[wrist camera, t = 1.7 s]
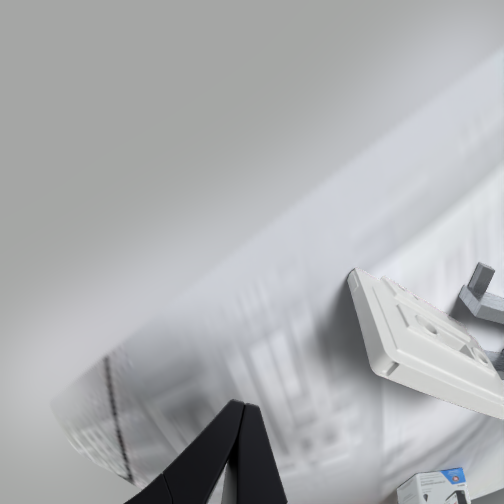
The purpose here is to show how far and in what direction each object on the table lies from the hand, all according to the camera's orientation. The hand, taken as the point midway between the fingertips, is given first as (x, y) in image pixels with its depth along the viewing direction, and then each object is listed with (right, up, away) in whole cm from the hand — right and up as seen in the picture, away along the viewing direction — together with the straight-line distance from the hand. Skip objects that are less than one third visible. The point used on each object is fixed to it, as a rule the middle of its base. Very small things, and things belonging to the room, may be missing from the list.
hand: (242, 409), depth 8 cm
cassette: (+11, +1, +8) cm, 14 cm away
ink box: (+23, -24, +16) cm, 38 cm away
